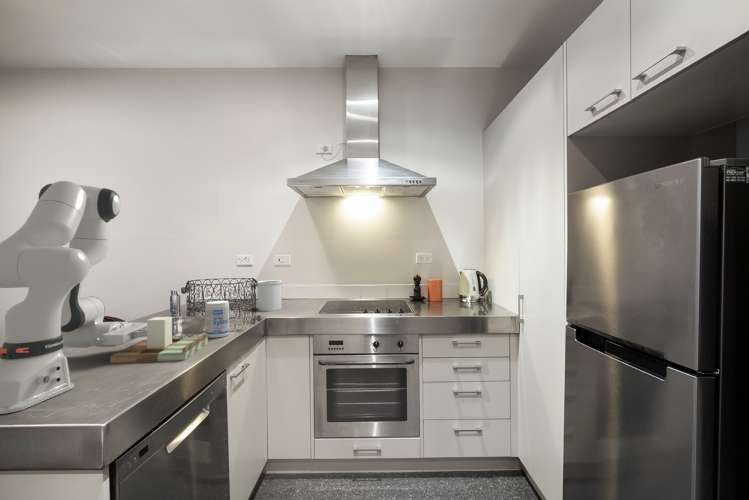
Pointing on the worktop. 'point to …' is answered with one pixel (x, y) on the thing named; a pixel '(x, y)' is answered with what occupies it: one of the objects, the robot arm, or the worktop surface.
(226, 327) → the supplement tub
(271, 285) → the utensil holder
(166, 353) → the brown green flat slab
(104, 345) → the robot arm
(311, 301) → the worktop surface
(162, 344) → the cream block
